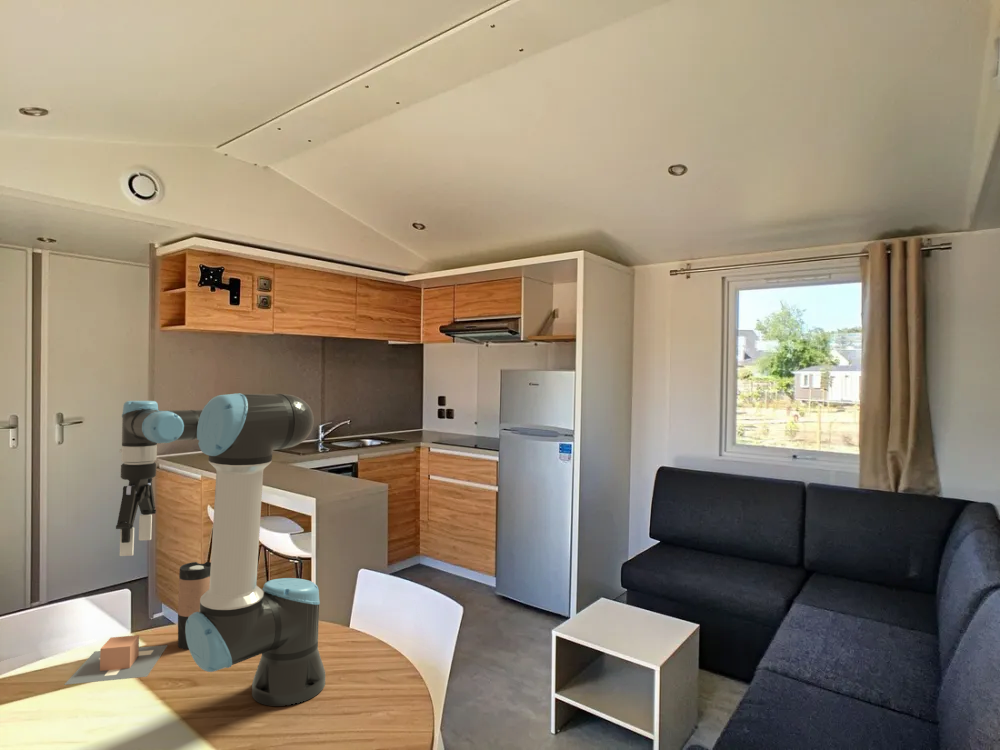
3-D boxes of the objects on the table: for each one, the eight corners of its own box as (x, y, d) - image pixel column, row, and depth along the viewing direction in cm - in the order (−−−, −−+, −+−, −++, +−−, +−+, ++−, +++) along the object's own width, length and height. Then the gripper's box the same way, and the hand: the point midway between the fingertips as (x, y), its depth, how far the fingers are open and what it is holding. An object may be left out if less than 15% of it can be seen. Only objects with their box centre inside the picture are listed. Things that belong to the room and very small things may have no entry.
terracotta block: (129, 668, 133) (130, 646, 134) (99, 670, 132) (100, 648, 132) (138, 656, 139) (139, 635, 139) (110, 658, 138) (110, 637, 138)
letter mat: (146, 679, 130) (147, 676, 130) (63, 687, 126) (64, 684, 126) (167, 647, 145) (167, 644, 145) (94, 653, 141) (94, 651, 141)
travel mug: (185, 655, 142) (187, 572, 142) (171, 646, 146) (173, 566, 147) (216, 644, 148) (218, 565, 148) (202, 635, 152) (204, 559, 153)
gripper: (138, 455, 156) (136, 534, 156) (102, 470, 132) (98, 563, 132) (169, 455, 158) (167, 533, 158) (139, 469, 134) (136, 561, 134)
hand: (136, 547), depth 145 cm, fingers open, 13 cm apart
